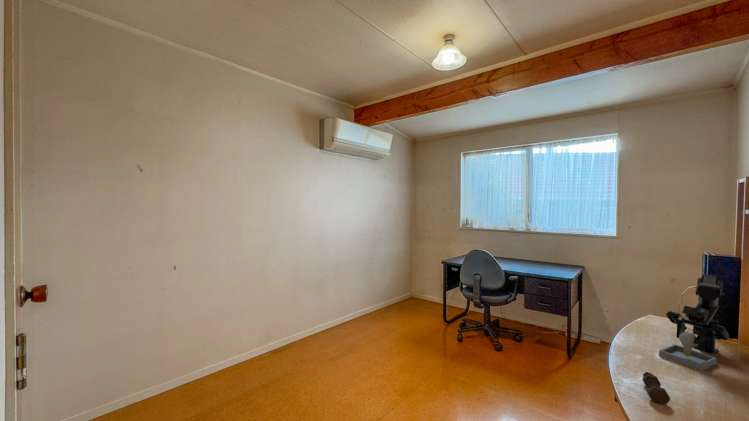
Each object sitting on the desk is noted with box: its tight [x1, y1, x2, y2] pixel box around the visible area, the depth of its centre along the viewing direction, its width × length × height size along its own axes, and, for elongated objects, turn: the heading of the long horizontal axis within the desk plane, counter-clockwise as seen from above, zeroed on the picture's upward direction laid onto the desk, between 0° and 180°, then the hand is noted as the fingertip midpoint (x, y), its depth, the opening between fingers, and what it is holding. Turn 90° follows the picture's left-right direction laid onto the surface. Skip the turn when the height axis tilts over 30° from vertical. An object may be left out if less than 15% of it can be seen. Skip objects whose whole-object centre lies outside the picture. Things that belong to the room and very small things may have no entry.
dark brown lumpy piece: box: [642, 371, 671, 406], centre depth 110 cm, size 6×5×15 cm
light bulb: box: [678, 331, 697, 356], centre depth 132 cm, size 5×6×10 cm
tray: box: [658, 343, 717, 372], centre depth 132 cm, size 13×13×2 cm
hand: (685, 340), depth 132 cm, fingers closed on light bulb, 5 cm apart
